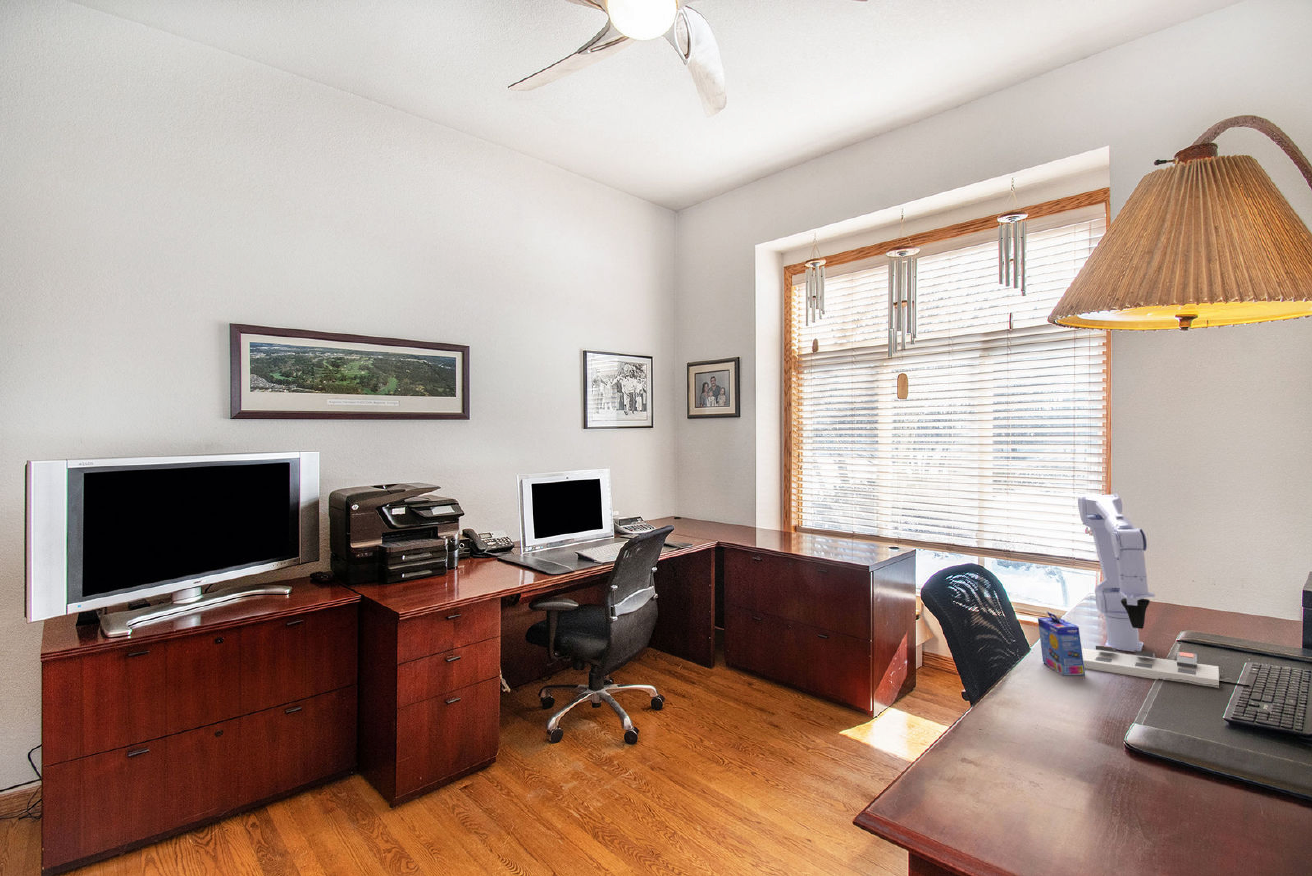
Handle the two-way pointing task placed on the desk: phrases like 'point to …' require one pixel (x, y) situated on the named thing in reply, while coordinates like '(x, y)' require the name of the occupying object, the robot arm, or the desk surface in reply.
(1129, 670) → the power strip
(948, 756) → the desk surface
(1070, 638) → the ink cartridge box
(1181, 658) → the block
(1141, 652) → the rocker middle
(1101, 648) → the rocker far end
